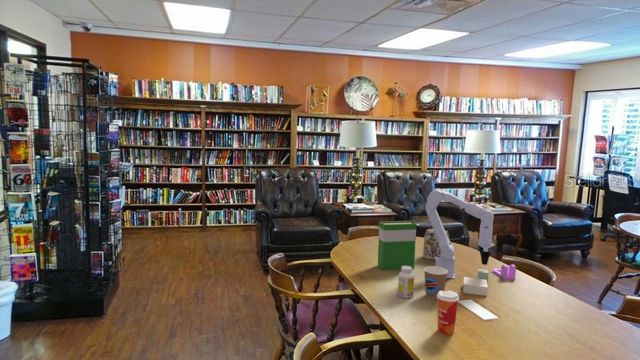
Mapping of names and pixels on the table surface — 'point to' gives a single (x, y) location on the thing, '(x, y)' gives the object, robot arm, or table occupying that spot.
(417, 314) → the table surface
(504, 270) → the bracket
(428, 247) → the decorative jar
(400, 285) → the supplement bottle
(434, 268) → the coffee cup
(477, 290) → the painted block
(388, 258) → the green cereal box
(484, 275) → the green cube
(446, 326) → the paper cup
